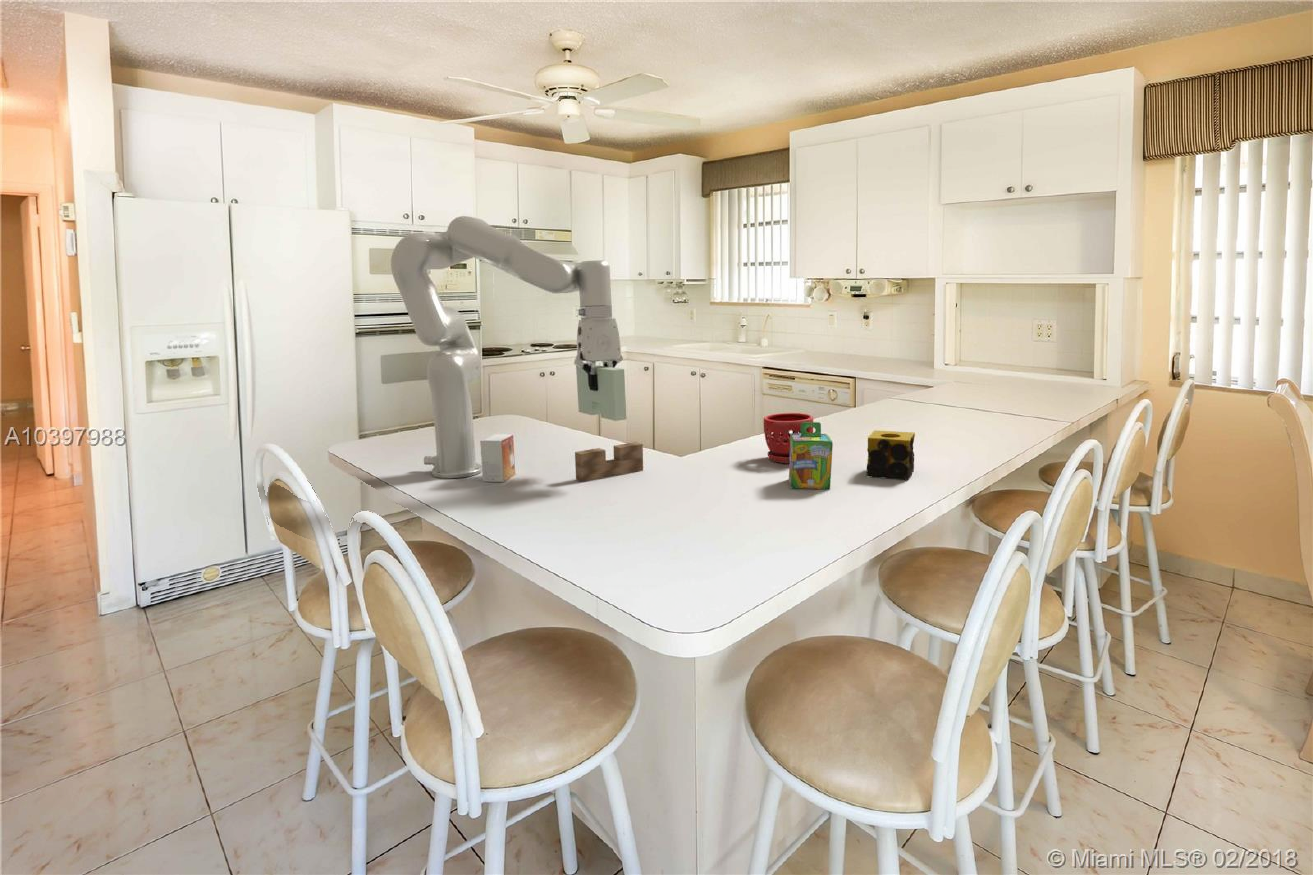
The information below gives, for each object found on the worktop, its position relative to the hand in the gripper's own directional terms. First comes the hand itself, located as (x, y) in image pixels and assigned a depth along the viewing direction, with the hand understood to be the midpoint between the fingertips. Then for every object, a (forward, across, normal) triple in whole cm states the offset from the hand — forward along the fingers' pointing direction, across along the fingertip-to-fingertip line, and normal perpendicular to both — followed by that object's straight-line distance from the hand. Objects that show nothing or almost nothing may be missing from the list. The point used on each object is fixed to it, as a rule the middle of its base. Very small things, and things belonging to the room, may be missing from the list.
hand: (600, 388), depth 181 cm
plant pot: (+23, +47, -16) cm, 55 cm away
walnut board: (+22, +1, 0) cm, 22 cm away
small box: (+22, -22, +14) cm, 34 cm away
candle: (+24, +57, -42) cm, 75 cm away
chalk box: (+23, +34, -37) cm, 55 cm away
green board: (+7, 0, 0) cm, 7 cm away
